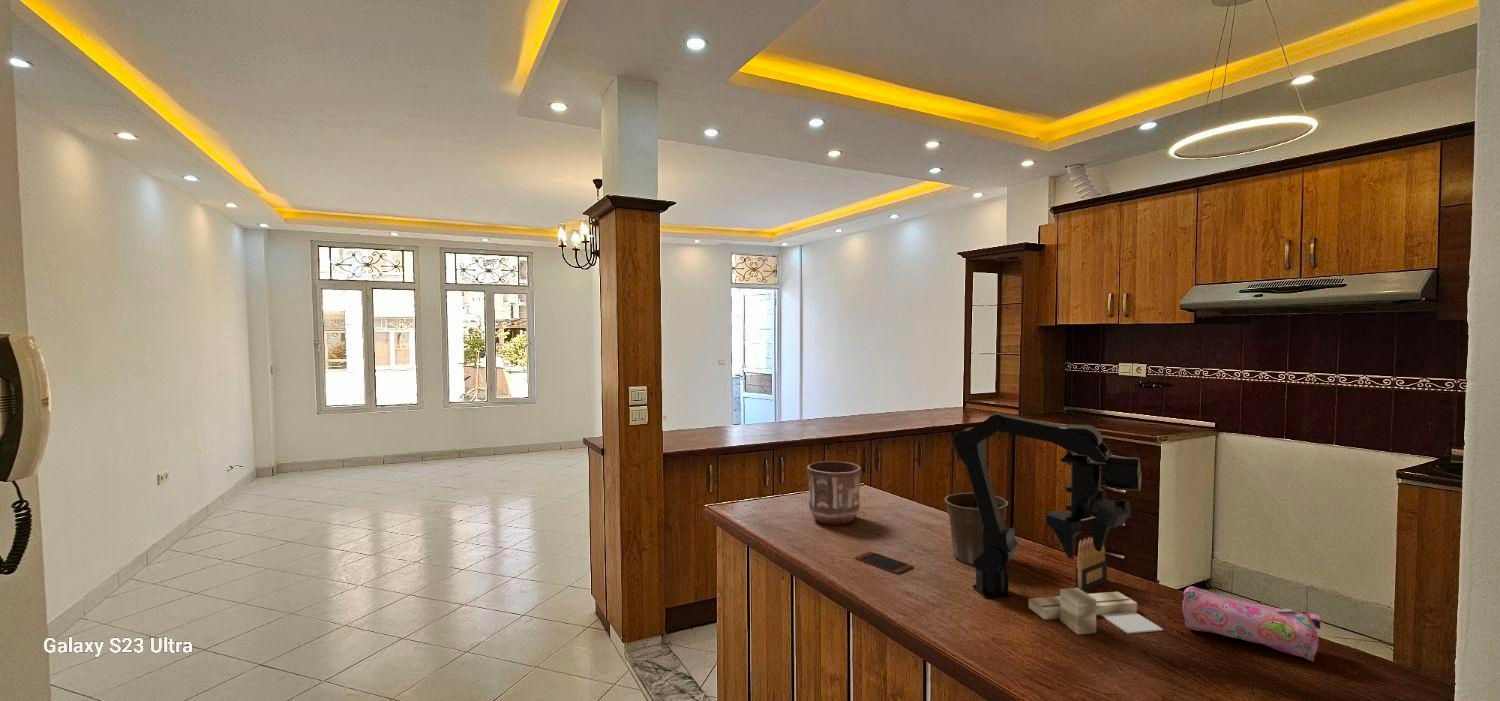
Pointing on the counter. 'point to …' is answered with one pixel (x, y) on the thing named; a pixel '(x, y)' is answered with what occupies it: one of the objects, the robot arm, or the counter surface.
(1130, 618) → the grey end pad
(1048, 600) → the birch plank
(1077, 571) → the ammunition clip
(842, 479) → the pottery
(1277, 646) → the pencil case
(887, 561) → the smartphone
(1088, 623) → the maple block
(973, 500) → the plant pot
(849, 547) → the counter surface
